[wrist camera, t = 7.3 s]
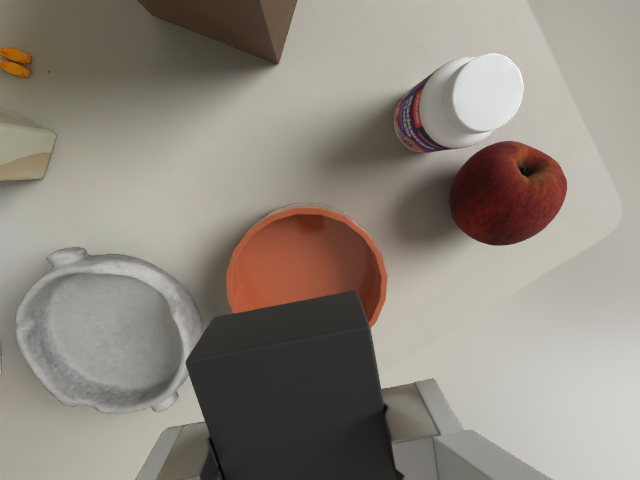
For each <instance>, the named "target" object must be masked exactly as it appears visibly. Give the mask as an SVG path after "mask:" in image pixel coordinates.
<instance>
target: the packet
mask: <svg viewBox="0 0 640 480" xmlns="http://www.w3.org/2000/svg"><path fill="white" fill-rule="evenodd" d="M185 364H186V367H187V370H188V373H189V376H190V379H191V381H192V384H193V387H194V390H195V393H196V396H197V399H198V402H199V405H200V408H201V410H202V413H203V416H204V419H205V422H206V425H207V428H208V431H209V434H210V436H211V439H212V442H213V445H214V448H215V451H216V454H217V457H218V460H219V463H220V465H221V468H222V471H223V474H224V477H225V480H395V477H394V471H393V466H392V461H391V450H390V447H389V443H388V439H387V433H386V427H385V421H384V415H385V409H384V403H383V397H382V392H381V387H380V381H379V375H378V369H377V363H376V358H375V352H374V346H373V341H372V335H371V329H370V325H369V323H368V320H367V317H366V314H365V312H364V309H363V306H362V303H361V300H360V298H359V295H358V292H357V291H356V290H353V291H348V292H342V293H337V294H332V295H327V296H322V297H317V298H312V299H306V300H301V301H296V302H291V303H286V304H281V305H275V306H270V307H265V308H260V309H255V310H250V311H245V312H239V313H234V314H229V315H224V316H219V317H215V318H213V319H212V321H211V322H210V324H209V325H208V327H207V329H206V330H205V332H204V333H203V335H202V336H201V338H200V339H199V341H198V342H197V344H196V345H195V347H194V348H193V350H192V351H191V353H190V354H189V356H188V358H187V359H186V362H185Z"/></svg>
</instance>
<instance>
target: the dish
mask: <svg viewBox="0 0 640 480" xmlns="http://www.w3.org/2000/svg"><path fill="white" fill-rule="evenodd" d="M47 260H48V261H49V262H50V263H51V264H52V266H53V268H52V269H51V270H50V271H48V272H47V273H46V274H45V275H43V276H42V277H41V278H40V279H38V280H37V281H36V282H35V283H34V284H33V285H32V286H31V287H30V289H29V290H28V291H27V292H26V294H25V296H24V298H23V299H22V301H21V302H20V304H19V306H18V309H17V312H16V315H15V319H16V323H17V327H16V340H17V344H18V347H19V349H20V351H21V353H22V355H23V357H24V359H25V360H26V362H27V364H28V365H29V367H30V368H31V369H32V371H33V372H34V374H35V375H36V377H37V378H38V379H39V380H40V381H41V382H42V384H43V385H44V386H45V387H46V388H47V390H48V391H49V392H50V393H52V394H53V395H54V396H55V397H56V398H57V400H58V401H59V402H60V403H61V404H63V405H65V406H70V407H75V406H77V405H85V406H89V407H93V408H95V409H96V410H98V411H99V412H102V413H116V414H121V413H130V412H135V411H140V410H144V409H146V408H149V407H151V408H152V409H153V411H155V412H162V411H164V410H166V409H168V408H169V407H170V406H172V405H173V404H174V403H175V402H176V400H177V399H178V396H179V395H178V393H177V391H176V390H177V389H178V388H179V387H180V386H181V385H182V384H183V382H184V381H185V379H186V378H187V377H188V375H189V373H188V370H187V367H186V364H185V362H186V359H187V358H188V356H189V354H190V353H191V351H192V350H193V348H194V347H195V345H196V344H197V342H198V341H199V339H200V338H201V336H202V321H201V317H200V314H199V311H198V309H197V306H196V304H195V302H194V301H193V299H192V297H191V296H190V294H189V293H188V292H187V291H186V289H185V288H184V287H183V286H182V285H181V284H180V283H179V282H178V281H177V280H176V279H174V278H173V277H172V276H170V275H169V274H168V273H166V272H165V271H163V270H162V269H160V268H158V267H157V266H155V265H153V264H151V263H148V262H146V261H144V260H141V259H138V258H135V257H131V256H127V255H120V254H106V255H96V256H90V255H88V254H87V251H86V249H84V248H80V247H72V248H65V249H61V250H58V251H55V252H53V253H52V254H50V255H48V256H47Z"/></svg>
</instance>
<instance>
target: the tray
mask: <svg viewBox="0 0 640 480" xmlns="http://www.w3.org/2000/svg"><path fill="white" fill-rule="evenodd" d="M138 1H139V2H140V3H141V4H142V5H143V6H144V7H145V8H146V9H147V10H148V11H149V12H150V13H151V14H152V15H154V16H156V17H159V18H161V19H164V20H166V21H169V22H171V23H174V24H176V25H179V26H181V27H184V28H187V29H189V30H192V31H194V32H197V33H199V34H202V35H204V36H207V37H209V38H212V39H215V40H217V41H220V42H222V43H225V44H227V45H230V46H232V47H235V48H237V49H240V50H243V51H245V52H248V53H250V54H253V55H255V56H258V57H260V58H263V59H265V60H268V61H271V62H273V63H276V64H279V61H280V57H281V54H282V51H283V47H284V44H285V40H286V37H287V34H288V30H289V27H290V23H291V20H292V17H293V13H294V10H295V6H296V3H297V0H138Z"/></svg>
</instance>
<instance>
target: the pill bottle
mask: <svg viewBox="0 0 640 480" xmlns="http://www.w3.org/2000/svg"><path fill="white" fill-rule="evenodd" d="M523 89H524V88H523V78H522V75H521V72H520V70H519V69H518V67H517V66H516V64H515V63H514V62H513V61H512V60H510V59H509V58H507V57H505V56H503V55H500V54H493V53H490V54H484V55H480V56H478V57H476V58H473V57H464V58H458V59H455V60H452V61H450V62H448V63H446V64H445V65H443V66H441V67H440V68H438V69H437V70H436V71H435V72H433V73H432V74H431V75H429V76H428V77H427V78H426V79H424V80H423V81H422V82H420V83H419V84H418V85H416V86H415V87H413V88H412V89H411V90H410V91H408V92H407V93H406V94H405V95H404V96H403V98H402V99H401V100H400V102H399V104H398V106H397V108H396V111H395V115H394V127H395V131H396V134H397V136H398V138H399V140H400V141H401V142H402V143H403V144H404V145H405V146H406V147H407V148H409V149H411V150H413V151H416V152H434V151H441V150H449V149H458V148H465V147H469V146H472V145H475V144H477V143H479V142H481V141H482V140H484V139H485V138H486V137H488V136H489V135H490V134H491V133H492V132H493V131H494V130H495V129H498V128H500V127H502V126H503V125H504V124H506V123H507V122H508V121H509V120H510V119H511V118H512V117H513V116H514V115H515V113H516V112H517V110H518V108H519V106H520V104H521V101H522V96H523Z"/></svg>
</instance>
